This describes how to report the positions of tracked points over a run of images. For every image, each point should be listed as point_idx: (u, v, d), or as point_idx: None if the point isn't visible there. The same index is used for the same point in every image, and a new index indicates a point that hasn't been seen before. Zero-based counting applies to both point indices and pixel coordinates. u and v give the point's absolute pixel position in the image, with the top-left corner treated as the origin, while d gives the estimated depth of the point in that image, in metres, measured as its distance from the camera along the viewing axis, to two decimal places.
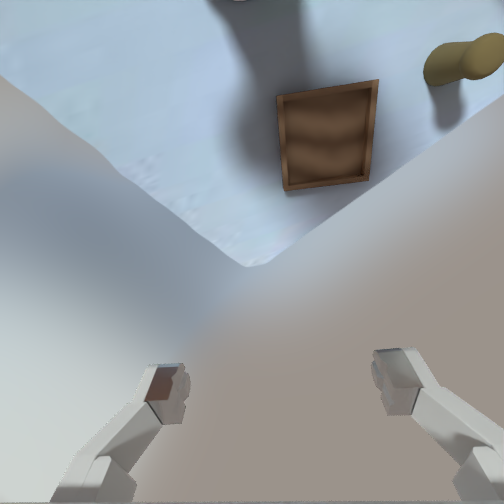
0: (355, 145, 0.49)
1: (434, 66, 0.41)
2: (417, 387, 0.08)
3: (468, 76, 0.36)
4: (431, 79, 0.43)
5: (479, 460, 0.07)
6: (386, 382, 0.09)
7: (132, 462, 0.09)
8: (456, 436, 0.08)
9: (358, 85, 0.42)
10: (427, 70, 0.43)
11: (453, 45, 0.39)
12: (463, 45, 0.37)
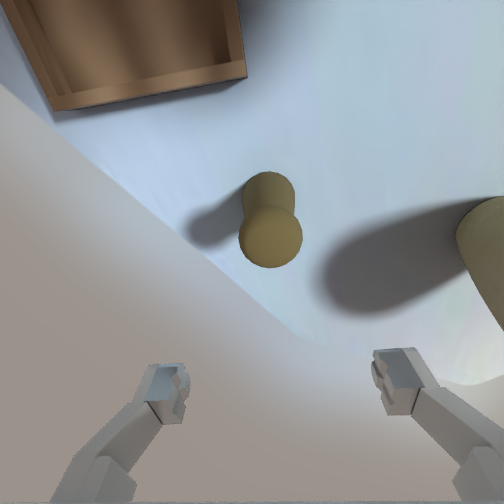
0: (124, 63, 0.22)
1: (265, 182, 0.25)
2: (417, 387, 0.08)
3: (242, 225, 0.20)
4: (249, 186, 0.26)
5: (479, 460, 0.07)
6: (386, 382, 0.09)
7: (132, 462, 0.09)
8: (456, 436, 0.08)
9: (232, 21, 0.18)
10: (261, 176, 0.26)
11: (290, 198, 0.24)
12: (289, 207, 0.22)
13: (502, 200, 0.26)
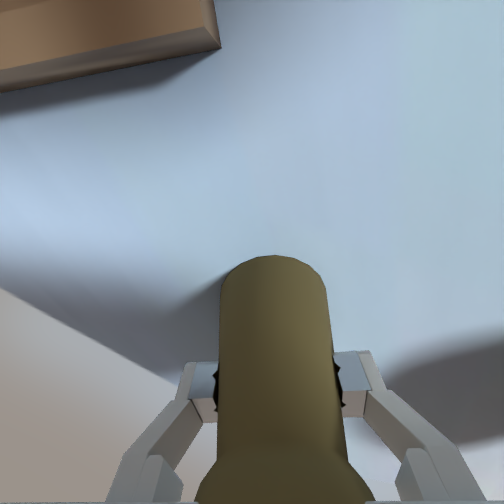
0: None
1: (267, 296, 0.11)
2: (365, 390, 0.09)
3: None
4: (232, 290, 0.12)
5: (410, 461, 0.07)
6: (338, 385, 0.09)
7: (176, 461, 0.09)
8: (398, 438, 0.08)
9: None
10: (258, 270, 0.12)
11: (328, 337, 0.10)
12: (333, 396, 0.08)
13: None
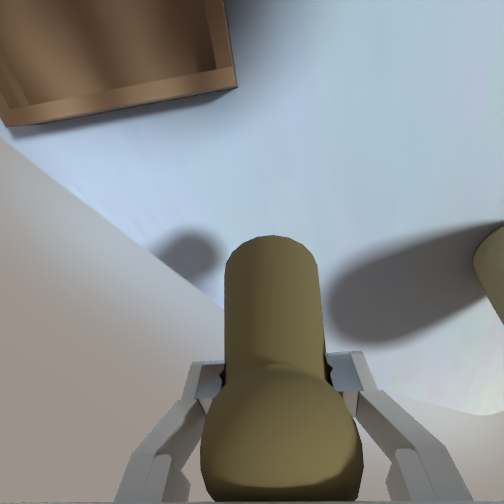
0: (90, 71, 0.18)
1: (266, 266, 0.13)
2: (356, 390, 0.09)
3: (207, 435, 0.07)
4: (235, 264, 0.14)
5: (399, 462, 0.07)
6: None
7: (183, 461, 0.09)
8: (389, 438, 0.08)
9: (217, 21, 0.15)
10: (258, 247, 0.14)
11: (316, 300, 0.12)
12: (319, 340, 0.10)
13: None
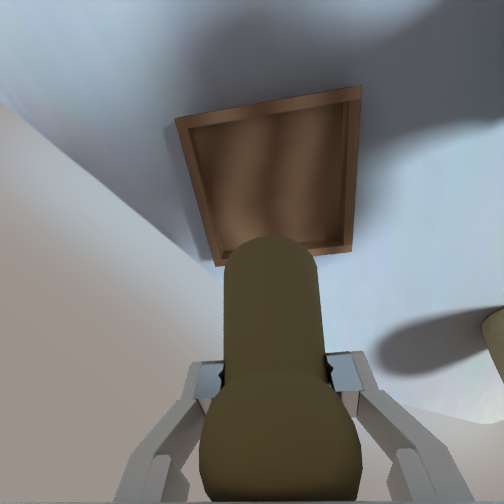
0: None
1: (265, 267, 0.13)
2: (357, 390, 0.09)
3: (206, 437, 0.07)
4: (234, 265, 0.14)
5: (401, 461, 0.07)
6: (332, 385, 0.09)
7: (182, 461, 0.09)
8: (390, 438, 0.08)
9: (349, 227, 0.29)
10: (257, 247, 0.14)
11: (316, 300, 0.12)
12: (318, 341, 0.10)
13: None
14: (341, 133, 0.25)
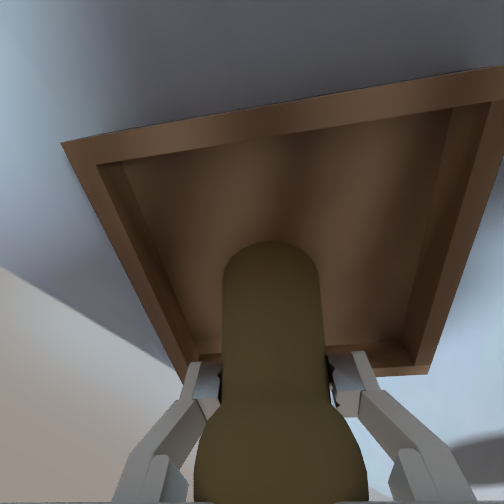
0: None
1: (265, 274, 0.12)
2: (358, 390, 0.09)
3: (201, 463, 0.07)
4: (233, 271, 0.14)
5: (402, 461, 0.07)
6: (333, 385, 0.09)
7: (181, 461, 0.09)
8: (391, 438, 0.08)
9: (431, 342, 0.15)
10: (257, 254, 0.14)
11: (318, 310, 0.12)
12: (320, 355, 0.10)
13: None
14: (437, 171, 0.12)
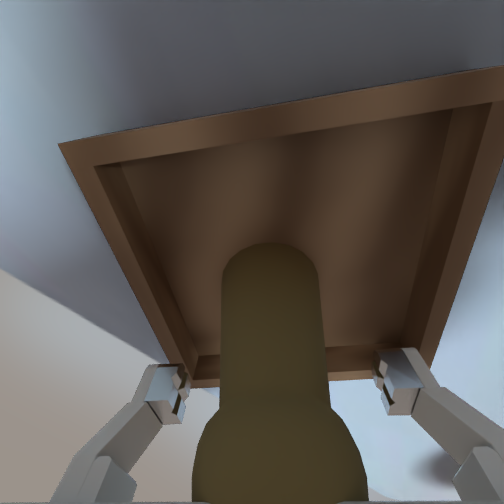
0: None
1: (264, 276, 0.12)
2: (417, 387, 0.08)
3: (199, 468, 0.07)
4: (232, 273, 0.14)
5: (479, 460, 0.07)
6: (386, 382, 0.09)
7: (132, 462, 0.09)
8: (456, 436, 0.08)
9: (431, 343, 0.15)
10: (256, 255, 0.13)
11: (317, 312, 0.12)
12: (320, 358, 0.10)
13: None
14: (437, 172, 0.12)
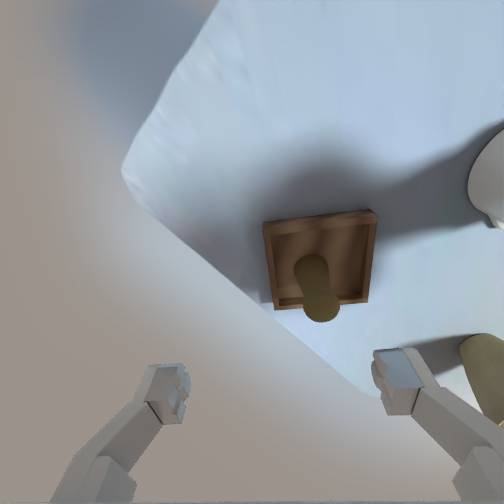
0: None
1: (312, 265, 0.41)
2: (417, 387, 0.08)
3: (307, 300, 0.36)
4: (300, 264, 0.42)
5: (479, 460, 0.07)
6: (386, 382, 0.09)
7: (132, 462, 0.09)
8: (456, 436, 0.08)
9: (366, 288, 0.44)
10: (308, 258, 0.42)
11: (328, 275, 0.41)
12: (329, 284, 0.39)
13: (482, 340, 0.51)
14: (363, 234, 0.41)
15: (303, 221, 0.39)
